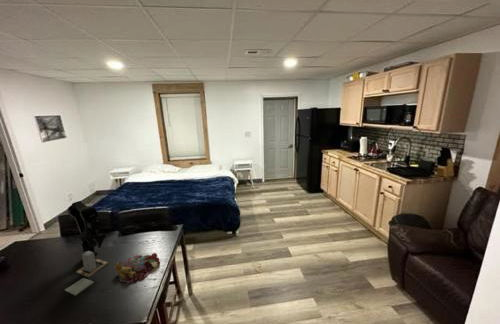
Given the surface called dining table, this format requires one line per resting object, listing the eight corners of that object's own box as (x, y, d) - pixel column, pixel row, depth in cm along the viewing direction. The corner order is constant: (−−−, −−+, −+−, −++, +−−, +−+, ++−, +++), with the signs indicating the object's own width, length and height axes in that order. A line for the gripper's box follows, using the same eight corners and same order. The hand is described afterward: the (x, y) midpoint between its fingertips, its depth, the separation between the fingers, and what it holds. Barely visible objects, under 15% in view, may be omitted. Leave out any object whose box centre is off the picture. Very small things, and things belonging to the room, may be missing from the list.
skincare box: (84, 270, 136) (80, 254, 134) (91, 266, 140) (87, 250, 138) (90, 272, 134) (86, 256, 132) (97, 268, 138) (93, 252, 136)
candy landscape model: (132, 288, 121) (130, 275, 119) (108, 276, 131) (105, 264, 129) (166, 262, 143) (164, 250, 141) (143, 253, 153) (141, 242, 151)
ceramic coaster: (64, 290, 120) (64, 289, 120) (83, 278, 130) (83, 277, 129) (75, 295, 117) (75, 294, 117) (93, 282, 126) (93, 281, 126)
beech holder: (76, 272, 135) (76, 271, 134) (97, 260, 146) (96, 258, 146) (88, 277, 130) (87, 275, 130) (108, 264, 142) (108, 262, 142)
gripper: (68, 229, 134) (73, 250, 137) (86, 234, 127) (91, 256, 130) (86, 221, 144) (91, 241, 147) (104, 225, 137) (108, 246, 140)
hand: (95, 246), depth 141 cm, fingers open, 9 cm apart
